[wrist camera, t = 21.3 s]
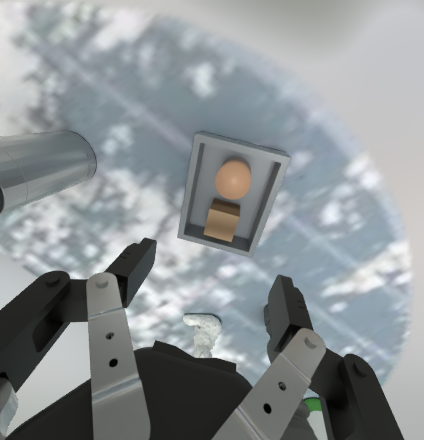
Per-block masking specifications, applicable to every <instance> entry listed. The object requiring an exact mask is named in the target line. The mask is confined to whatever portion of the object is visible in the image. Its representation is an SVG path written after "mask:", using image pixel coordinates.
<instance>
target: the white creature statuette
mask: <svg viewBox="0 0 424 440" xmlns="http://www.w3.org/2000/svg"><path fill="white" fill-rule="evenodd" d="M183 321H184V323H185V324H187V325H188V326H190V325H191V326H193V325H195V331H196V335H195V336H194V342H195V350H194V357H195V358H212V354H211V352H210V350H211V349H212V348H213V346H214V345H215V343H214V342H215V340H216V339H217V337H218V335H219V334H220V331H221V330H222V328H221V322H220V321H219V319H218V318H216V317H214V316H212V315H211V314H210V315H208V314H206V315H205V314H187V315H184V317H183Z"/></svg>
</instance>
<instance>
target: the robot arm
mask: <svg viewBox="0 0 424 440" xmlns="http://www.w3.org/2000/svg"><path fill="white" fill-rule="evenodd" d="M95 169H96V159H95V155H94V152H93V150H92V149H91V147H90V145H89V144H88V143H87V142H86V141H85V140H84V139H83V138H82V137H81V136H79V135H78V134H76V133H73V132H70V131H57V132H45V133H34V134H23V135H13V136H2V137H0V216H1V215H3V214H5V213H8V212H10V211H13V210H15V209H18V208H20V207H22V206H25V205H27V204H30V203H32V202H34V201H37V200H39V199H42V198H44V197H47V196H49V195H52V194H54V193H56V192H59V191H61V190H64V189H66V188H69V187H71V186H74V185H76V184H79V183H81V182H83V181H86V180H88V179H90V178H91V177H92V176H93V174H94V173H95ZM156 244H157V241H156V240H152V239H149V238H144V239H143V240H142V241H141V242H140V244H137V243H133V244H131V245H129V246H127V247H126V249H125V250H124V251H123V252H122V253H121V254H120V255H119V257H117V258H116V260H115V261H114V262H113V263H112V264H111V265H110V266H109V267H108V268H107V269H106V270H105V272H102V273H97V274H95V275H93V276H91V277H90V278H89V279H85V280H81V279H70V276H69V274H68V273H66V272H64V271H51V272H48V273H45V274H43V275H41V276H40V277H39V278H37V279H36V280H35V281H34V282H33V283H32V284H31V285H29V286H28V287H27V288H26V289H25V290H24V291H22V292H21V293H20V294H19V295H18V296H16V297H15V298H14V299H13V300H12V301H11V302H9V303H8V304H7V305H6V306H5V307H4V308H2V309H1V310H0V440H282V439H281V437H282V435H283V433H284V431H285V429H286V428H287V426H288V424H289V422H290V420H291V418H292V416H293V415H294V413H295V411H296V409H297V407H298V405H299V404H300V402H301V400H302V398H303V396H304V394H305V393H306V391H307V389H308V388H309V389H311V390H312V391H314V392H315V393H317V394H318V395H319V399H320V404H321V409H322V414H323V419H324V424H325V429H326V434H327V439H328V440H404V438H403V436H402V434H401V431H400V429H399V427H398V425H397V422H396V420H395V418H394V415H393V413H392V411H391V409H390V406H389V404H388V402H387V399H386V397H385V395H384V393H383V390H382V388H381V386H380V384H379V381H378V379H377V377H376V375H375V373H374V371H373V369H372V368H371V367H370V365H369V364H368V363H367V362H366V361H365V360H363V359H362V358H360V357H359V356H357V355H354V354H346V355H345V356H344V357H341V356H340V355H338V354H336V353H334V352H333V351H331V350H329V349H328V348H326V346H325V343H324V341H323V340H322V338H321V337H320V336H319V335H318V334H317V333H315V332H314V330H313V327H312V323H311V320H310V317H309V314H308V310H307V307H306V304H305V300H304V297H303V295H302V293H301V292H300V291H299V289H298V288H296V287H294V286H293V282H292V279H291V278H290V277H286V276H283V275H278V276H277V277H276V280H275V282H274V284H273V286H272V288H271V290H270V292H269V296H268V305H269V315H270V324H271V333H272V343H273V351H275V352H278V353H280V354H279V355H278V356H277V358H276V359H275V360H274V362H273V363H272V364H271V365H270V367H269V368H268V369H267V370H266V372H265V373H264V374H263V376H262V377H261V378H260V379H259V381H258V382H257V383H256V384H255V386H254V387H252V386H251V384H250V383H249V382H248V381H247V380H246V379H245V378H244V377H243V376H242V375H241V374H239V373H238V372H236V364H235V363H232V362H228V361H225V360H222V359H218V358H195V357H192V356H191V355H189V354H187V353H186V352H184V351H183V350H181V349H179V348H178V347H176V346H173V345H170V344H167V343H163V342H160V341H156V340H155V343H154V345H153V347H145V348H140V349H137V350H134V351H133V346H132V341H131V336H130V332H129V327H128V322H127V317H126V313H125V309H124V308H127V307H128V305H129V304H130V302H131V301H132V299H133V297H134V296H135V294H136V293H137V291H138V289H139V288H140V286H141V285H142V283H143V281H144V280H145V278H146V277H147V275H148V273H149V272H150V270H151V269H152V267H153V264H154V261H155V253H156ZM70 322H88V331H89V349H90V370H91V378H90V379H89V380H87V381H86V382H84V383H83V384H81V385H80V386H78V387H77V388H75V389H74V390H72V391H71V392H69V393H68V394H66V395H65V396H63V397H62V398H60V399H59V400H57V401H56V402H54V403H53V404H51V405H50V406H48V407H47V408H45V409H44V410H42V411H41V412H39V413H38V414H36V415H35V416H33V417H32V418H30V419H28V420H27V421H25V422H24V423H23V424H21V425H20V426H19V427H17V428H16V429H15V430H14V431H13V432H12V433H11V434H10V435H8V437H6V432H7V428H8V426H9V423H10V421H11V420H12V418H13V417H14V415H15V413H16V411H17V407H18V399H17V397H16V392H17V391H18V390H19V388H20V387H21V386H22V385H23V383H24V382H25V381H26V379H27V378H28V377H29V376H30V374H31V373H32V372H33V370H34V369H35V368H36V366H37V365H38V364H39V363H40V361H41V360H42V359H43V357H44V356H45V355H46V353H47V352H48V351H49V350H50V348H51V347H52V346H53V344H54V343H55V342H56V340H57V339H58V338H59V337H60V335H61V334H62V333H63V331H64V330H65V329H66V328H67V326H68V325H69V324H70Z"/></svg>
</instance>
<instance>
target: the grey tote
mask: <svg viewBox="0 0 424 440" xmlns="http://www.w3.org/2000/svg"><path fill="white" fill-rule="evenodd" d="M234 156H239V157H242V158H244V159H245V160H247V162H248V163H249V165H250V167H251V183H250V188H249V190H248V192H247V193H246V194H245V195H244V196H243V197H241V198H239V199H233V200H232V199H227V198H224V197H223V196H221V195H220V194H219V193H218V191H217V189H216V186H215V178H216V175H217V173H218V171H219V170H220V168H221V167H222V165H223V163H224V162H225V161H226V160H227V159H228V158H230V157H234ZM290 160H291V157H290V156H289V155H288V154H287V153H286V152H283V151H279V150H275V149H271V148H267V147H263V146H259V145H255V144H251V143H247V142H243V141H239V140H235V139H231V138H227V137H223V136H219V135H215V134H211V133H207V132H204V131H200V132H197V133H195V135H194V141H193V147H192V153H191V159H190V165H189V171H188V177H187V183H186V189H185V195H184V201H183V207H182V213H181V219H180V224H179V230H178V236H177V238H181V239H184V240H188V241H192V242H195V243H199V244H203V245H206V246H210V247H214V248H217V249H221V250H225V251H228V252H232V253H236V254H239V255H243V256H247V257H250V258H253V255H254V253H255V250H256V248H257V245H258V242H259V240H260V237H261V235H262V232H263V229H264V227H265V224H266V222H267V219H268V217H269V214H270V211H271V209H272V206H273V204H274V201H275V198H276V196H277V193H278V191H279V188H280V185H281V183H282V180H283V178H284V175H285V173H286V170H287V167H288V165H289V162H290ZM214 198H216V199H219V200H223V201H227V202H230V203H234V204H238V205H240V217H239V220H238V223H237V226H236V229H235V232H234V236H233V239H232V242H229V241H225V240H222V239H218V238H215V237H211V236H207V235H204V230H205V226H206V221H207V217H208V213H209V209H210V207H211V204H212V202H213V199H214Z"/></svg>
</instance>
